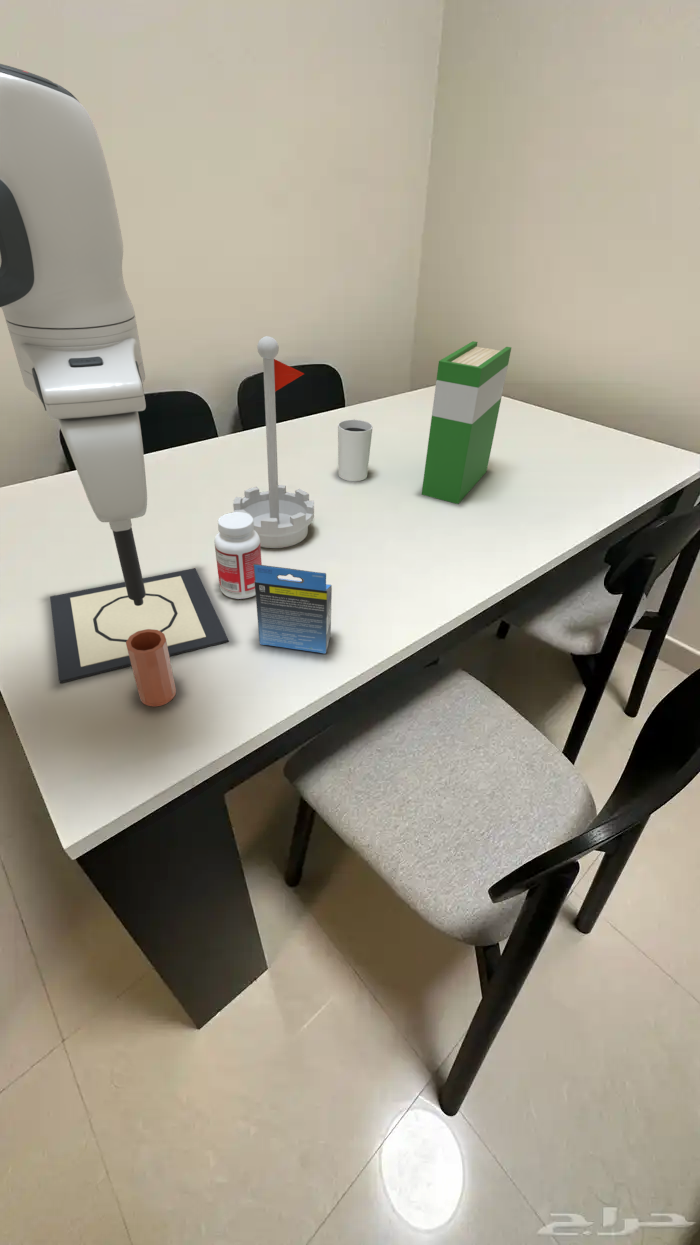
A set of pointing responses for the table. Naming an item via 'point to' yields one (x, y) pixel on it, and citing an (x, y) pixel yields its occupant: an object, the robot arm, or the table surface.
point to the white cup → (354, 449)
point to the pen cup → (151, 667)
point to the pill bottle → (237, 554)
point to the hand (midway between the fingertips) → (118, 519)
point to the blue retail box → (293, 608)
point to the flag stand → (276, 469)
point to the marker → (130, 565)
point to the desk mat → (131, 622)
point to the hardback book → (463, 420)
